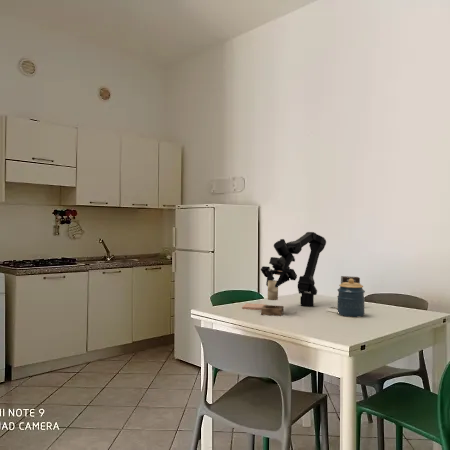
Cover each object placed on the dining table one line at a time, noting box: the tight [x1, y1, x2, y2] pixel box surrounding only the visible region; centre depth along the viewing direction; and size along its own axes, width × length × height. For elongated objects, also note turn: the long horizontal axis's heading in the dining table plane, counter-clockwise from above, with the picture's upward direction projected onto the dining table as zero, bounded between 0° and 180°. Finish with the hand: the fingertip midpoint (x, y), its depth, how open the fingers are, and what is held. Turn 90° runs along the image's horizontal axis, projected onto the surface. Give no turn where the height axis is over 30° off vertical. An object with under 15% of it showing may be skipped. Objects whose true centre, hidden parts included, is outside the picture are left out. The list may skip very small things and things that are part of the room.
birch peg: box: [267, 279, 279, 301], centre depth 214 cm, size 5×5×9 cm
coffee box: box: [340, 275, 361, 284], centre depth 236 cm, size 9×6×16 cm
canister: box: [336, 279, 366, 318], centre depth 215 cm, size 13×13×18 cm
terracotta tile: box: [241, 303, 267, 311], centre depth 229 cm, size 11×11×1 cm
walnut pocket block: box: [260, 304, 284, 317], centre depth 214 cm, size 10×10×3 cm
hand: (271, 286), depth 213 cm, fingers closed on birch peg, 5 cm apart
